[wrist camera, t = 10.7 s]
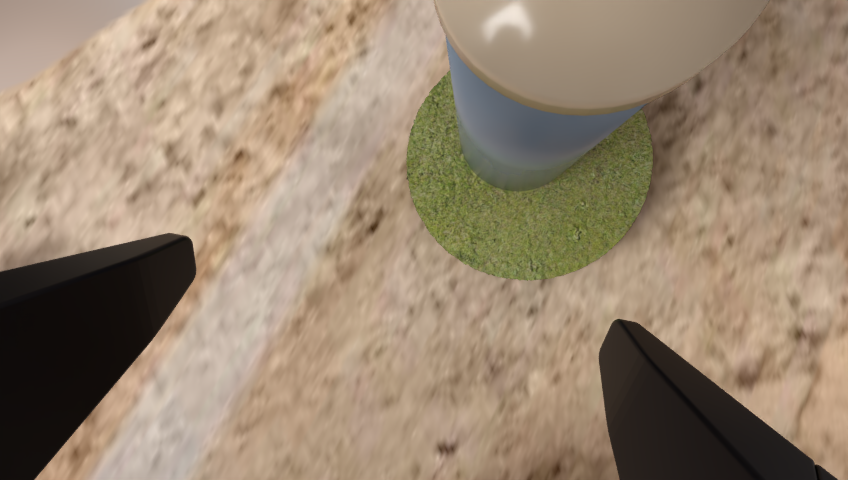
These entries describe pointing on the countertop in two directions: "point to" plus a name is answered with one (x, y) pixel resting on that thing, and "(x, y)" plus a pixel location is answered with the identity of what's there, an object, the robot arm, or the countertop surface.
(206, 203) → the countertop surface
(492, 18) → the canister
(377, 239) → the countertop surface
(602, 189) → the mat
